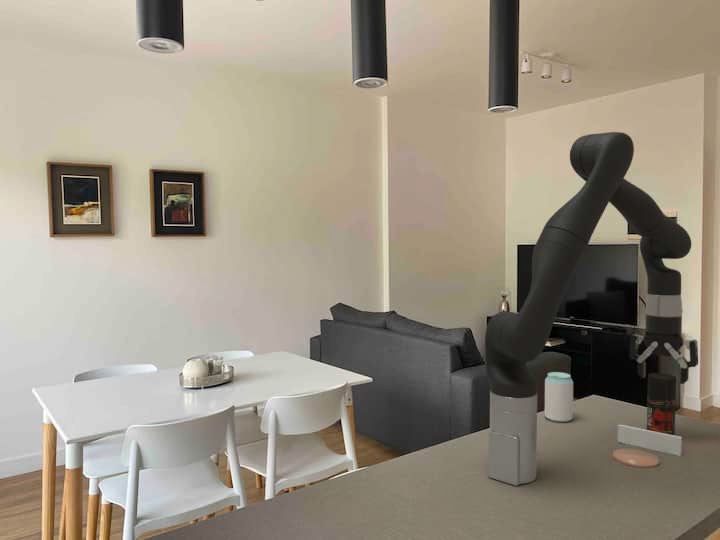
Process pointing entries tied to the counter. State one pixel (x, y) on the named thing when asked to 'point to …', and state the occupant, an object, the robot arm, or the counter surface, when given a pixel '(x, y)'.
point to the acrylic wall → (650, 439)
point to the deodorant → (661, 403)
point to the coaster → (636, 457)
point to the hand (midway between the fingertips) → (662, 380)
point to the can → (558, 397)
